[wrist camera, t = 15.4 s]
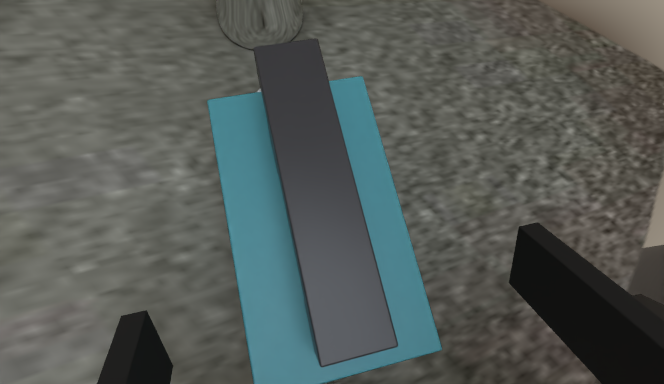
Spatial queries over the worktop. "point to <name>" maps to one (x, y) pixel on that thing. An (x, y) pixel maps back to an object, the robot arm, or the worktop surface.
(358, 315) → the teal slab with bar
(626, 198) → the worktop surface
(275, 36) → the beer glass
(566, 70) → the worktop surface
